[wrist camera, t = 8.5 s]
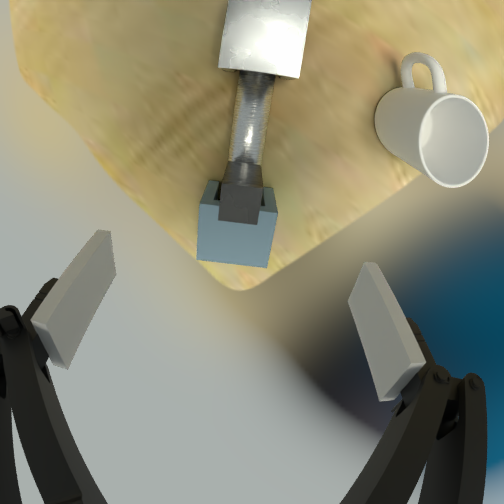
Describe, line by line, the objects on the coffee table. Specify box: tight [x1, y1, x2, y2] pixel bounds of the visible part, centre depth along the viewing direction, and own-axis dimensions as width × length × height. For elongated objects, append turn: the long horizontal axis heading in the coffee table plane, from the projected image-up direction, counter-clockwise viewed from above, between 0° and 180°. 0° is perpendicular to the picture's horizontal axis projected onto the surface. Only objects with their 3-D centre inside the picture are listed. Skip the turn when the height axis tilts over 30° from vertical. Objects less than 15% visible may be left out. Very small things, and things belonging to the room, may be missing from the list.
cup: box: [375, 52, 489, 188], centre depth 22 cm, size 8×12×10 cm
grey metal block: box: [218, 0, 312, 80], centre depth 20 cm, size 8×6×6 cm
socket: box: [196, 180, 278, 268], centre depth 30 cm, size 6×7×6 cm
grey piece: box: [218, 70, 275, 225], centre depth 24 cm, size 15×3×9 cm, turn 172°
